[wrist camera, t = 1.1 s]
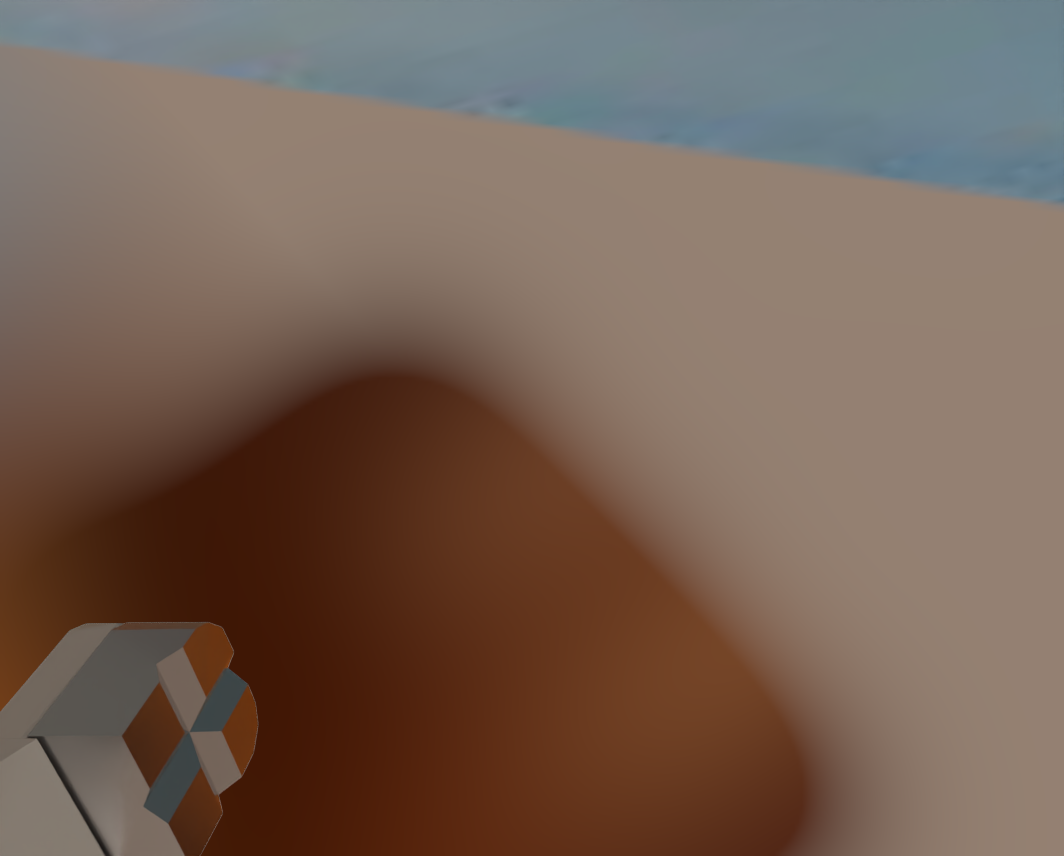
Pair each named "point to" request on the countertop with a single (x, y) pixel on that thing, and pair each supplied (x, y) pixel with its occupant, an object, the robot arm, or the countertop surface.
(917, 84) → the countertop surface
